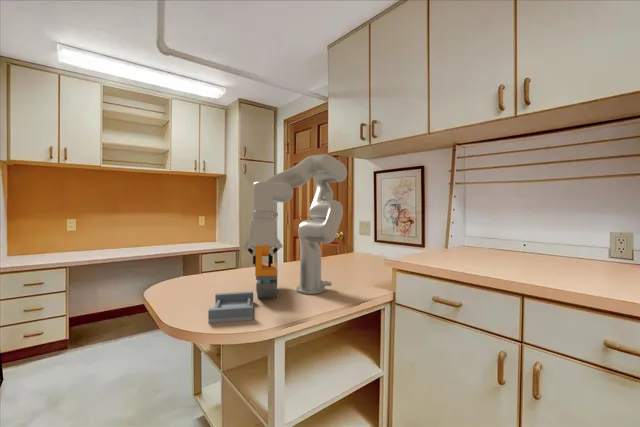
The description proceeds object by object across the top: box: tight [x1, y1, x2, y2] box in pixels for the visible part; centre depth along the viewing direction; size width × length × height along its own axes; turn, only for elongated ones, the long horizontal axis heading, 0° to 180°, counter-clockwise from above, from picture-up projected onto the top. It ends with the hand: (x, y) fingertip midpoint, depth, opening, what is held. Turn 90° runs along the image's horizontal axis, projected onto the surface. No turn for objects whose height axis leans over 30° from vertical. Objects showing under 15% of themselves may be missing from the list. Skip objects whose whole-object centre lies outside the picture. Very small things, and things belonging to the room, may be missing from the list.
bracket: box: [254, 245, 276, 277], centre depth 106 cm, size 11×7×12 cm, turn 12°
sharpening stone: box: [255, 262, 278, 299], centre depth 127 cm, size 25×8×11 cm, turn 7°
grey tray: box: [207, 290, 254, 324], centre depth 105 cm, size 14×18×4 cm
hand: (262, 265), depth 106 cm, fingers closed on bracket, 4 cm apart
